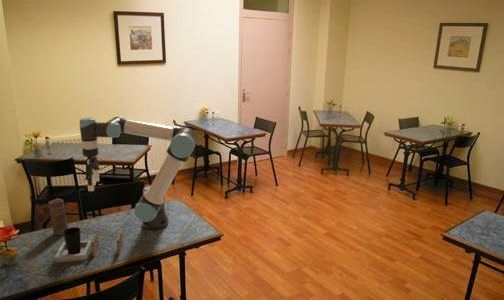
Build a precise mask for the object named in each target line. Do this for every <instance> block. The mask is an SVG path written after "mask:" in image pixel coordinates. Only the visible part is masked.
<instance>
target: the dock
mask: <svg viewBox="0 0 504 300" xmlns="http://www.w3.org/2000/svg"><path fill="white" fill-rule="evenodd" d="M91 242H92V240H80V247H81V251H80V253H79V254H70V255H69V254H68V250H67V246H66V242H65V241H63V242H62V243H61V245H60V247H59V249H58V250H57V252H56V254H55V256H54V263H55V264H57V263H68V262H69V263H70V262H71V263H72V262H81V261H82V262H83V261H87V259H88V256H89V254H90V252H91V251H92V245H91Z"/></svg>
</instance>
